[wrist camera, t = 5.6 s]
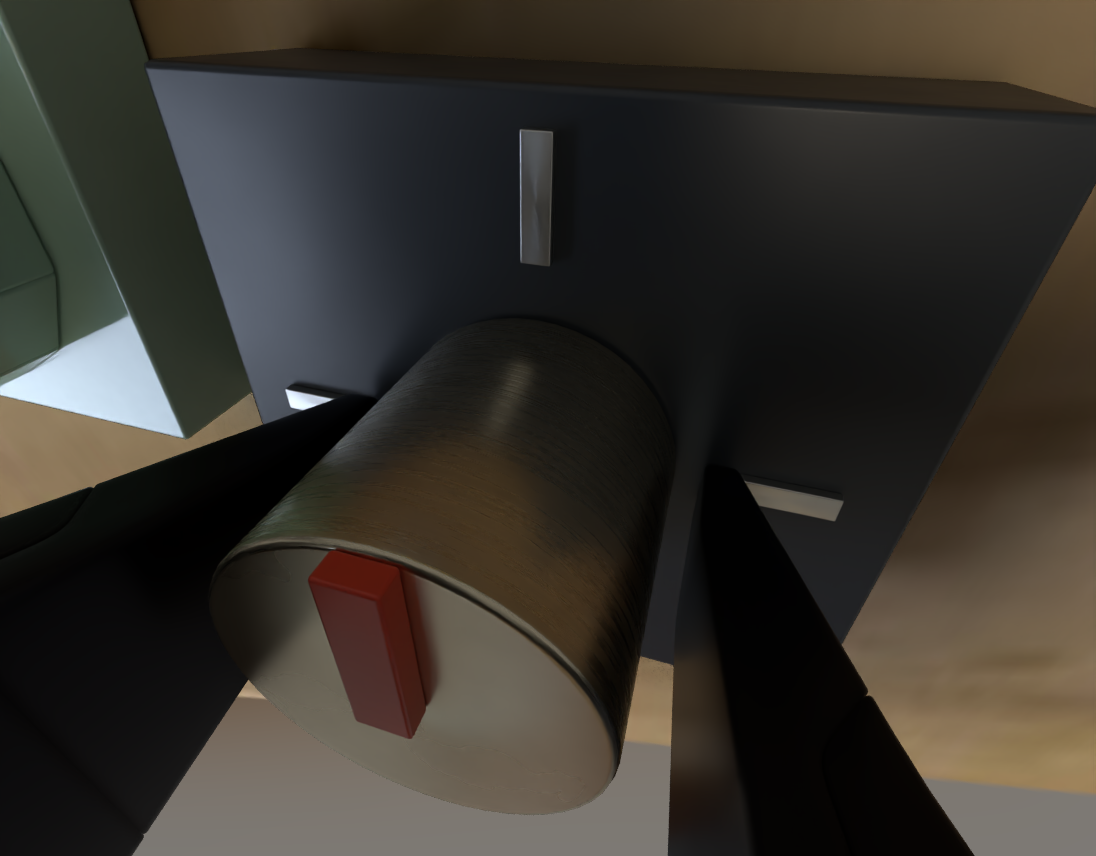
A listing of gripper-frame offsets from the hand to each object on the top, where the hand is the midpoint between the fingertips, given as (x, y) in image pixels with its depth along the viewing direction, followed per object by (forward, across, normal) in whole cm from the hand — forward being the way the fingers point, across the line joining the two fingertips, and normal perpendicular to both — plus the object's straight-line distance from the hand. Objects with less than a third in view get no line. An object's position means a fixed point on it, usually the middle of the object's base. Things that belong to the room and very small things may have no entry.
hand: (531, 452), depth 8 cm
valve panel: (+3, 0, 0) cm, 3 cm away
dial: (0, 0, 0) cm, 0 cm away
